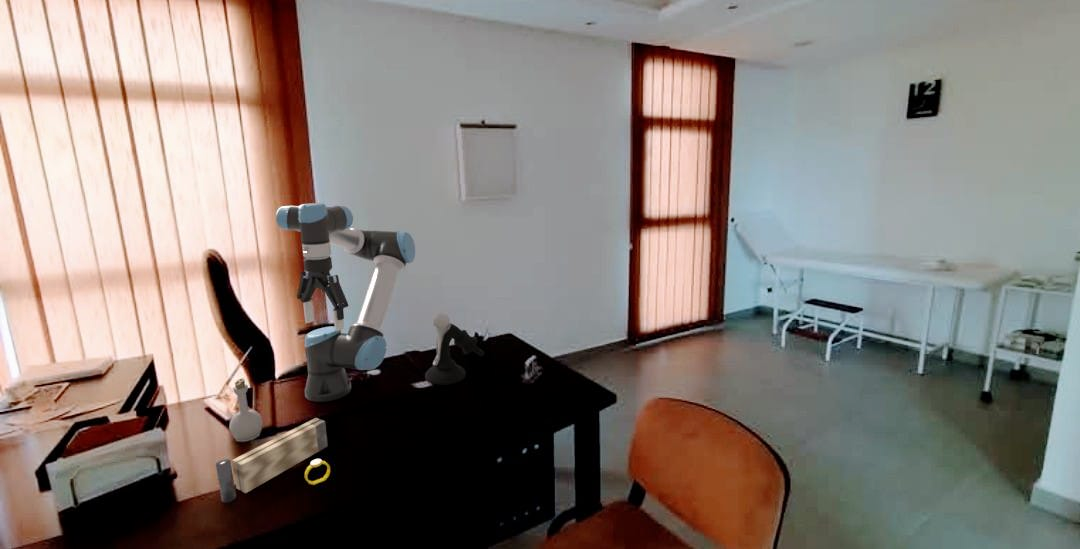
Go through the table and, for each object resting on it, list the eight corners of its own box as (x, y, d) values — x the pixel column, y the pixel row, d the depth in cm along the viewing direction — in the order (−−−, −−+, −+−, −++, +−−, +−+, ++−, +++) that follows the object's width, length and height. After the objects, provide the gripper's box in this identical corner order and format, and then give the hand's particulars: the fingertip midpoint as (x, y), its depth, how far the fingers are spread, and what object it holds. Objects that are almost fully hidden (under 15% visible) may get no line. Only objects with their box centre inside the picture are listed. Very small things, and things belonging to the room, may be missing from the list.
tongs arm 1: (240, 490, 128) (235, 462, 126) (236, 488, 129) (231, 460, 127) (322, 444, 148) (319, 419, 146) (318, 442, 149) (315, 417, 147)
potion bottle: (270, 430, 156) (263, 376, 152) (245, 446, 148) (237, 389, 143) (249, 425, 159) (241, 372, 154) (223, 440, 150) (214, 384, 146)
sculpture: (419, 372, 197) (416, 310, 191) (476, 360, 208) (475, 301, 202) (432, 388, 184) (429, 322, 178) (492, 374, 195) (491, 312, 189)
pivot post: (226, 504, 124) (220, 467, 121) (219, 500, 125) (213, 464, 123) (238, 497, 126) (232, 461, 124) (231, 493, 128) (225, 457, 125)
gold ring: (308, 489, 129) (304, 469, 128) (305, 484, 131) (301, 464, 130) (332, 478, 133) (328, 459, 131) (329, 473, 135) (325, 454, 133)
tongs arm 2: (245, 493, 127) (241, 465, 125) (241, 491, 128) (237, 462, 126) (327, 446, 147) (325, 421, 145) (323, 444, 148) (320, 419, 146)
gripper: (279, 254, 152) (287, 322, 157) (335, 264, 140) (342, 337, 145) (301, 250, 158) (308, 315, 163) (357, 259, 146) (363, 329, 151)
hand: (324, 325), depth 154 cm, fingers open, 13 cm apart
